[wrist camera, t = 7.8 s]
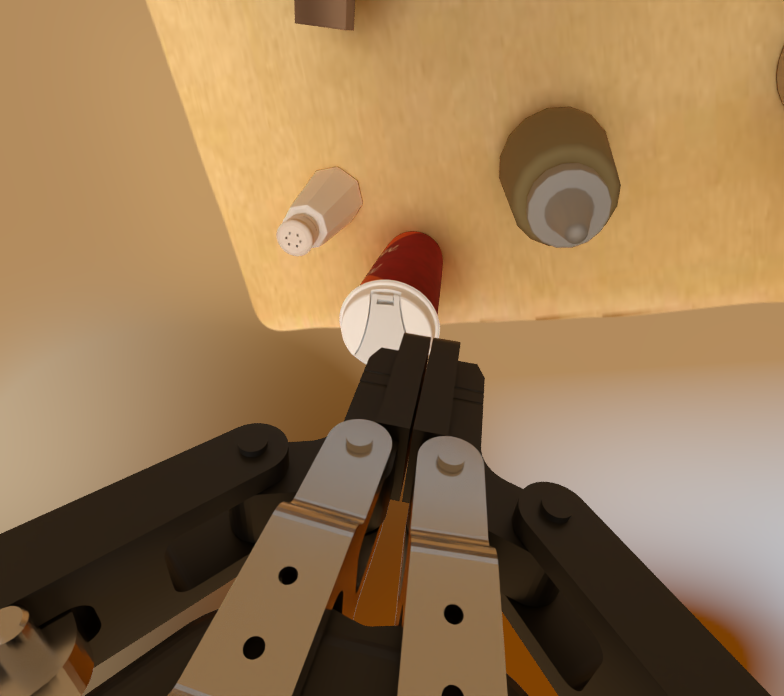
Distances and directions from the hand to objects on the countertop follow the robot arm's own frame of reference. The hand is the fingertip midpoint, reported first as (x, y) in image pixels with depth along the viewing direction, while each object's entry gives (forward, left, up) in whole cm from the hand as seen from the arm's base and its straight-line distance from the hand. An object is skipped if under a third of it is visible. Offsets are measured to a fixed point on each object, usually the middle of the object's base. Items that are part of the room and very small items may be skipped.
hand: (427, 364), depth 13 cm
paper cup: (+4, +12, -33) cm, 36 cm away
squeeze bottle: (-6, +1, -33) cm, 34 cm away
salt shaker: (+12, +7, -33) cm, 36 cm away
